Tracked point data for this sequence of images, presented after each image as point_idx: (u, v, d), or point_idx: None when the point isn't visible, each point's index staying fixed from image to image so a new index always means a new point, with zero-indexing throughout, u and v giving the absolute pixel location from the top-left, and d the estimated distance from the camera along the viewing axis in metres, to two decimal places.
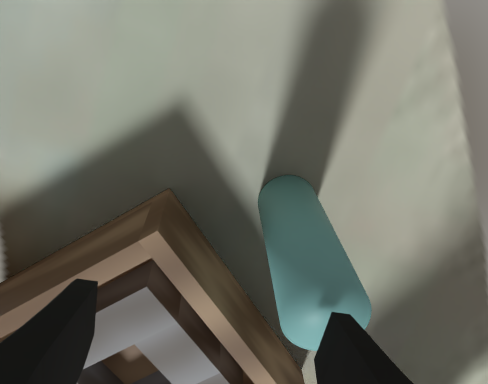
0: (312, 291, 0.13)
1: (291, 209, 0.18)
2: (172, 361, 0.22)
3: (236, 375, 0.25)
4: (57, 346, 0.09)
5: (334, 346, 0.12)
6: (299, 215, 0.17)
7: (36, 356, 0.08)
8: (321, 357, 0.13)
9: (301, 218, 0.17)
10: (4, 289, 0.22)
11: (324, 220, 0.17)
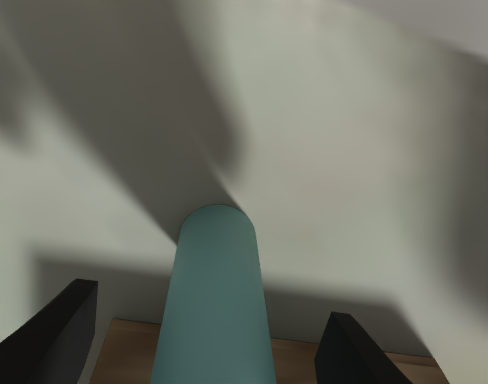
0: None
1: (170, 283, 0.13)
2: None
3: None
4: (57, 346, 0.09)
5: (334, 346, 0.12)
6: (171, 292, 0.12)
7: (36, 356, 0.08)
8: (321, 357, 0.13)
9: (171, 296, 0.12)
10: None
11: (201, 272, 0.12)
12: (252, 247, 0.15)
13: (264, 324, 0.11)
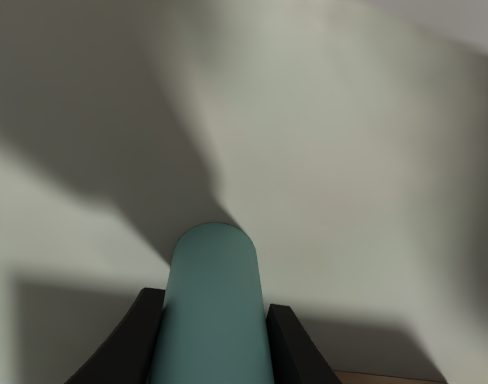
0: None
1: (161, 317, 0.12)
2: None
3: None
4: (145, 356, 0.09)
5: (270, 339, 0.11)
6: (161, 328, 0.11)
7: (133, 366, 0.08)
8: None
9: (161, 334, 0.11)
10: None
11: (195, 308, 0.11)
12: (253, 272, 0.13)
13: (268, 370, 0.10)
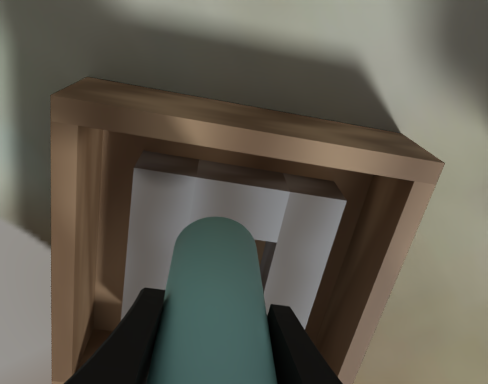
0: None
1: None
2: (236, 218, 0.19)
3: (323, 187, 0.20)
4: (144, 356, 0.09)
5: (270, 338, 0.11)
6: (161, 320, 0.11)
7: (132, 366, 0.08)
8: None
9: (161, 326, 0.11)
10: None
11: (193, 298, 0.11)
12: (252, 263, 0.13)
13: (267, 355, 0.10)
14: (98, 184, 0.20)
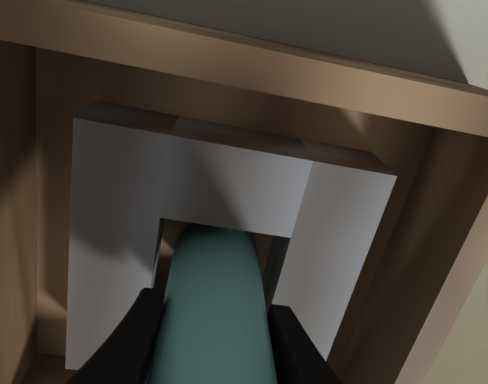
0: None
1: None
2: (232, 200, 0.13)
3: (359, 158, 0.14)
4: (145, 356, 0.09)
5: None
6: (161, 321, 0.11)
7: (133, 366, 0.08)
8: None
9: (161, 327, 0.11)
10: None
11: (192, 298, 0.11)
12: (252, 262, 0.13)
13: (267, 354, 0.10)
14: (31, 149, 0.14)
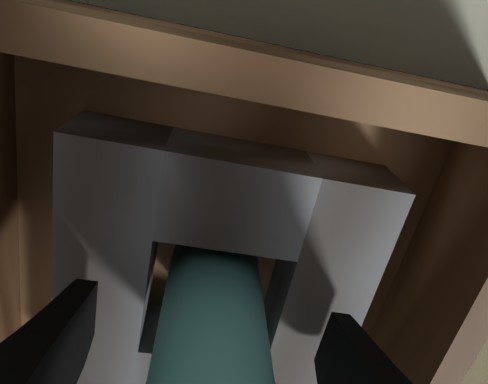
0: None
1: (157, 327, 0.11)
2: (232, 222, 0.12)
3: (373, 174, 0.12)
4: (57, 346, 0.09)
5: (334, 346, 0.12)
6: (156, 339, 0.10)
7: (36, 356, 0.08)
8: (321, 357, 0.13)
9: (156, 346, 0.10)
10: None
11: (189, 316, 0.10)
12: (252, 274, 0.13)
13: (267, 377, 0.09)
14: (10, 164, 0.13)
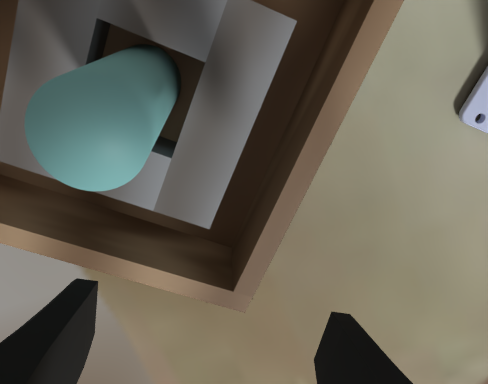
0: (39, 119, 0.10)
1: None
2: (159, 14, 0.15)
3: None
4: (57, 346, 0.09)
5: (334, 346, 0.12)
6: None
7: (36, 356, 0.08)
8: (321, 357, 0.13)
9: None
10: None
11: (113, 54, 0.14)
12: (170, 69, 0.16)
13: (159, 90, 0.13)
14: None
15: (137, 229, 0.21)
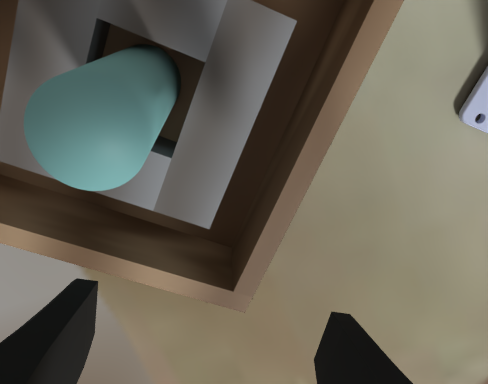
0: (39, 119, 0.10)
1: None
2: (160, 14, 0.15)
3: None
4: (57, 346, 0.09)
5: (334, 346, 0.12)
6: None
7: (36, 356, 0.08)
8: (321, 357, 0.13)
9: None
10: None
11: (112, 54, 0.14)
12: (170, 69, 0.16)
13: (159, 90, 0.13)
14: None
15: (137, 229, 0.21)
